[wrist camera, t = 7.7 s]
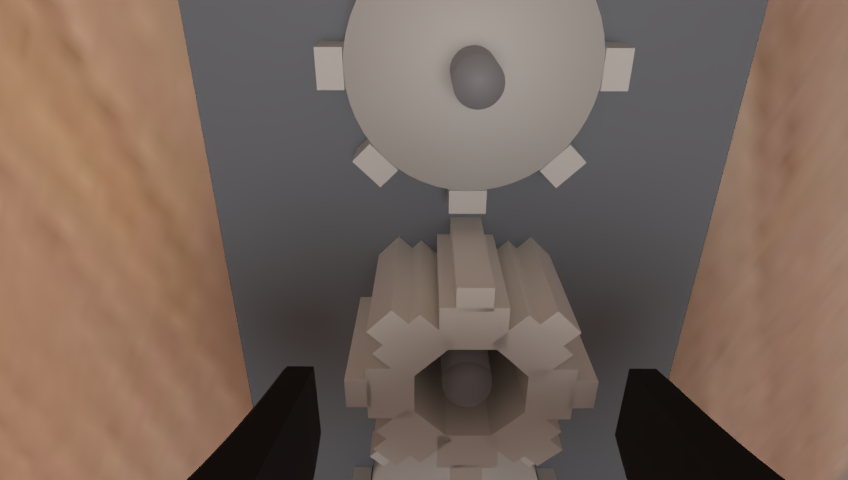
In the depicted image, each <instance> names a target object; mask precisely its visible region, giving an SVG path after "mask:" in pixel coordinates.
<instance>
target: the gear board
mask: <svg viewBox="0 0 848 480" xmlns="http://www.w3.org/2000/svg"><path fill="white" fill-rule="evenodd" d="M178 1H179V7H180V12H181V18H182V23H183V29H184V34H185V39H186V45H187V50H188V56H189V61H190V67H191V72H192V78H193V83H194V88H195V94H196V99H197V105H198V110H199V116H200V121H201V126H202V132H203V137H204V143H205V148H206V154H207V159H208V164H209V170H210V175H211V181H212V186H213V192H214V197H215V202H216V208H217V213H218V219H219V224H220V230H221V235H222V240H223V246H224V251H225V257H226V262H227V268H228V273H229V278H230V284H231V289H232V295H233V300H234V306H235V311H236V317H237V322H238V327H239V333H240V338H241V344H242V349H243V355H244V360H245V365H246V371H247V376H248V382H249V387H250V393H251V398H252V403H253V408H254V406H255V405H256V404H257V403H258V401H259V400H260V399H261V398H262V397H263V395H264V394H265V393H266V392H267V390H268V389H269V388H270V386H271V385H272V384H273V383H274V381H275V380H276V379H277V377H278V376H279V375H280V373H281V372H282V371H283V370H284V369H285V368H286V367H287V366H314V372H315V381H316V390H317V399H318V408H319V417H320V426H321V437H320V444H319V450H318V457H317V463H316V469H315V475H314V479H313V480H450V468H439V467H437V451H436V452H434V453H433V454H432V455H430V456H429V457H427V458H426V459H424V460H423V461H422V462H419V461H417V460H416V459H415V458H413V457H412V456H409V457H407V458H406V459H404V460H403V461H402V462H400V463H399V464H397V465H395V464H394V463H392V462H391V461H389V460H388V459H386V458H385V457H383V456H382V455H381V454H379V453H378V452H376V451H375V450H373V442H374V433H375V424H376V418H368V407H346V399H345V387H344V378H345V373H346V368H347V363H348V358H349V353H350V348H351V343H352V338H353V333H354V328H355V323H356V318H357V313H358V308H359V303H360V298H361V297H372V293H373V287H374V281H375V275H376V269H377V263H378V257H379V254H380V253H381V252H382V251H384V250H385V249H386V248H387V247H388V246H389V245H390V244H391V243H392V242H393V241H395V240H396V239H397V238H398V237H400V238H402V239H403V240H404V241H405V242H406V243H407V244H408V245H410V246H411V247H412V248H413V247H414V246H415V245H416V244H417V243H419V242H420V241H421V240H422V241H423V242H424V243H425V244H427V245H428V246H429V247H430V248H431V249H432V250H433V251H434V252H436V253H437V234H450V218H451V217H481V221H482V226H483V230H484V234H493V237H494V241H495V245H496V249H498V248H499V247H501V246H502V245H503V244H504V243H505V242H507V241H509V242H510V243H511V244H512V245H514V246H515V247H516V248H518V247H519V246H520V245H521V244H523V243H524V242H525V241H526V240H528V239H529V238H530V237H531V238H532V239H533V240H534V241H535V242H536V243H538V244H539V245H540V246H541V247H542V248H543V249H544V250H545V251H546V252H547V253H548V254H549V255H550V258H551V260H552V262H553V265H554V267H555V270H556V272H557V275H558V277H559V279H560V282H561V284H562V287H563V289H564V291H565V294H566V296H567V299H568V301H569V304H570V306H571V308H572V311H573V313H574V316H575V318H576V321H577V323H578V325H579V328H580V330H581V334H580V337H581V340H582V342H583V345H584V347H585V350H586V352H587V354H588V357H589V359H590V362H591V364H592V367H593V369H594V372H595V374H596V377H597V379H598V382H599V383H598V388H597V393H596V399H595V404H594V408H572V413H571V419H558V423H559V426H560V430H561V433H559V434H558V435H559V439H560V442H561V446H562V451H560V452H559V453H557V454H556V455H554V456H553V457H551V458H549V459H548V460H546V461H545V462H543V463H542V464H540V465H539V466H536V465H535V464H534V463H533V462H531V461H530V460H529V459H528V458H526V457H525V456H524V457H522V458H521V459H519V460H518V461H516V462H515V463H513V462H512V461H510V460H509V459H508V458H506V457H505V456H504V455H503V454H501V453H500V452H499V451H498V457H497V468H483V469H482V480H627V478H626V475H625V471H624V467H623V464H622V460H621V457H620V453H619V449H618V445H617V441H616V437H615V432H616V427H617V423H618V418H619V413H620V409H621V404H622V400H623V395H624V390H625V386H626V381H627V377H628V372H629V369H657V370H658V371H659V372H660V373H662V374H663V375H664V376H665V377H666V378H667V379H668V378H669V375H670V371H671V367H672V363H673V359H674V356H675V352H676V348H677V344H678V341H679V337H680V333H681V329H682V325H683V322H684V318H685V314H686V310H687V306H688V303H689V299H690V295H691V291H692V288H693V284H694V280H695V276H696V272H697V269H698V265H699V261H700V257H701V253H702V250H703V246H704V242H705V238H706V235H707V231H708V227H709V223H710V219H711V216H712V212H713V208H714V204H715V200H716V197H717V193H718V189H719V185H720V182H721V178H722V174H723V170H724V166H725V163H726V159H727V155H728V151H729V147H730V144H731V140H732V136H733V132H734V129H735V125H736V121H737V117H738V113H739V110H740V106H741V102H742V98H743V94H744V91H745V87H746V83H747V79H748V76H749V72H750V68H751V64H752V60H753V57H754V53H755V49H756V45H757V41H758V38H759V34H760V30H761V26H762V23H763V19H764V15H765V11H766V7H767V4H768V0H178ZM441 371H442V387H443V390H444V393H445V395H446V396H447V398H448V399H449V400H450V401H451V402H452V403H454V404H455V405H458V406H460V407H466V408H469V407H475V406H477V405H479V404H481V403H482V402H483V401H485V399H486V398H487V397H488V395H489V393H490V391H491V387H492V376H491V370H490V363H489V357H488V350H447V351H446V352H445V353H443V354H442V355H441Z"/></svg>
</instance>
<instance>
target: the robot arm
mask: <svg viewBox="0 0 848 480" xmlns="http://www.w3.org/2000/svg"><path fill="white" fill-rule="evenodd" d="M320 437H321V426H320V417H319V408H318V399H317V390H316V381H315V372H314V366H287V367H286V368H285V369H284V370H283V371H282V372H281V373H280V375H279V376H278V377H277V379H276V380H275V381H274V383H273V384H272V385H271V386H270V388H269V389H268V390H267V392H266V393H265V394H264V395H263V397H262V398H261V399H260V400H259V401H258V403H257V404H256V405H255V406H254V408H253V409H252V410H251V411H250V412H249V414H248V415H247V416H246V417H245V418H244V419H243V421H242V422H241V423H240V424H239V425H238V426H237V428H236V429H235V430H234V431H233V432H232V433H231V434H230V436H229V437H228V438H227V439H226V440H225V441H224V442H223V443H222V444H221V445H220V446H219V447H218V448H217V449H216V450H215V452H214V453H213V454H212V455H211V456H210V457H209V458H208V459H207V460H206V461H205V462H204V463H203V464H202V465H201V466H200V467H199V468H198V469H197V470H196V471H195V472H194V473H193V474H192V475H191V476H190V477H189V478H188V479H187V480H313V479H314V475H315V469H316V463H317V457H318V450H319V444H320ZM615 437H616V441H617V445H618V449H619V453H620V457H621V460H622V464H623V467H624V471H625V475H626V478H627V480H785V479H784V478H782V477H781V476H780V475H778V474H777V473H776V472H774V471H773V470H772V469H771V468H769V467H768V466H767V465H766V464H764V463H763V462H762V461H761V460H759V459H758V458H757V457H756V456H754V455H753V454H752V453H751V452H749V451H748V450H747V449H746V448H745V447H743V446H742V445H741V444H740V443H739V442H737V441H736V440H735V439H734V438H733V437H732V436H730V435H729V434H728V433H727V432H726V431H725V430H723V429H722V428H721V427H720V426H719V425H718V424H717V423H715V422H714V421H713V420H712V419H711V418H710V417H709V416H708V415H706V414H705V413H704V412H703V411H702V410H701V409H700V408H699V407H698V406H697V405H695V404H694V403H693V402H692V401H691V400H690V399H689V398H688V397H687V396H686V395H685V394H683V393H682V392H681V391H680V390H679V389H678V388H677V387H676V386H675V385H674V384H673V383H672V382H670V381H669V380H668V379H667V378H666V377H665V376H664V375H663V374H662V373H660V372H659V371H658V370H657V369H629V372H628V377H627V381H626V386H625V390H624V395H623V400H622V404H621V409H620V413H619V418H618V423H617V427H616V432H615Z"/></svg>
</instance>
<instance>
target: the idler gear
mask: <svg viewBox="0 0 848 480" xmlns="http://www.w3.org/2000/svg"><path fill="white" fill-rule="evenodd" d="M580 334H581V330H580V328H579V325H578V323H577V321H576V318H575V316H574V313H573V311H572V308H571V306H570V304H569V301H568V299H567V296H566V294H565V291H564V289H563V287H562V284H561V282H560V279H559V277H558V275H557V272H556V270H555V267H554V265H553V262H552V260H551V258H550V255H549V254H548V253H547V252H546V251H545V250H544V249H543V248H542V247H541V246H540V245H539V244H538V243H536V242H535V241H534V240H533V239H532V238H531V237H530V238H529V239H528V240H526V241H525V242H524V243H523V244H521V245H520V246H519V247H518V248H516V247H515V246H514V245H512V244H511V243H510V242H509V241H507V242H505V243H504V244H503V245H502V246H501V247H499V248H498V249H496V245H495V241H494V237H493V234H484V230H483V226H482V221H481V217H451V218H450V234H437V253H436V252H434V251H433V250H432V249H431V248H430V247H429V246H428V245H427V244H425V243H424V242H423V241H422V240H421V241H420V242H419V243H417V244H416V245H415V246H414V247H413V248H412V247H411V246H410V245H408V244H407V243H406V242H405V241H404V240H403V239H402V238H400V237H398V238H397V239H396V240H395V241H393V242H392V243H391V244H390V245H389V246H388V247H387V248H386V249H385V250H384V251H382V252H381V253H380V254H379V257H378V263H377V269H376V275H375V281H374V287H373V293H372V297H361V298H360V303H359V308H358V313H357V318H356V323H355V328H354V333H353V338H352V343H351V348H350V353H349V358H348V363H347V368H346V373H345V378H344V387H345V399H346V407H368V418H376V424H375V433H374V442H373V450H375V451H376V452H378V453H379V454H381V455H382V456H383V457H385V458H386V459H388V460H389V461H391V462H392V463H394V464H395V465H397V464H399V463H400V462H402V461H403V460H404V459H406V458H407V457H409V456H412V457H413V458H415V459H416V460H417V461H419V462H422V461H423V460H424V459H426V458H427V457H429V456H430V455H432V454H433V453H434V452H436V451H437V467H439V468H450V480H482V469H483V468H497V457H498V451H499V452H500V453H501V454H503V455H504V456H505V457H506V458H508V459H509V460H510V461H512V462H513V463H515V462H516V461H518V460H519V459H521V458H522V457H524V456H525V457H526V458H528V459H529V460H530V461H531V462H533V463H534V464H535V465H536V466H539V465H540V464H542V463H543V462H545V461H546V460H548V459H549V458H551V457H553V456H554V455H556V454H557V453H559V452H560V451H562V446H561V442H560V439H559V435H558V434H559V433H561V430H560V426H559V423H558V419H571V413H572V408H594V404H595V399H596V393H597V388H598V383H599V382H598V379H597V377H596V374H595V372H594V369H593V367H592V364H591V362H590V359H589V357H588V354H587V352H586V350H585V347H584V345H583V342H582V340H581V337H580ZM447 350H488V357H489V363H490V370H491V376H492V387H491V391H490V393H489V395H488V397H487V398H486V399H485V401H483V402H482V403H481V404H479V405H477V406H475V407H469V408H466V407H460V406H458V405H455V404H454V403H452V402H451V401H450V400H449V399H448V398H447V396H446V395H445V393H444V390H443V387H442V371H441V355H442V354H443V353H445V352H446V351H447Z"/></svg>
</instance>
